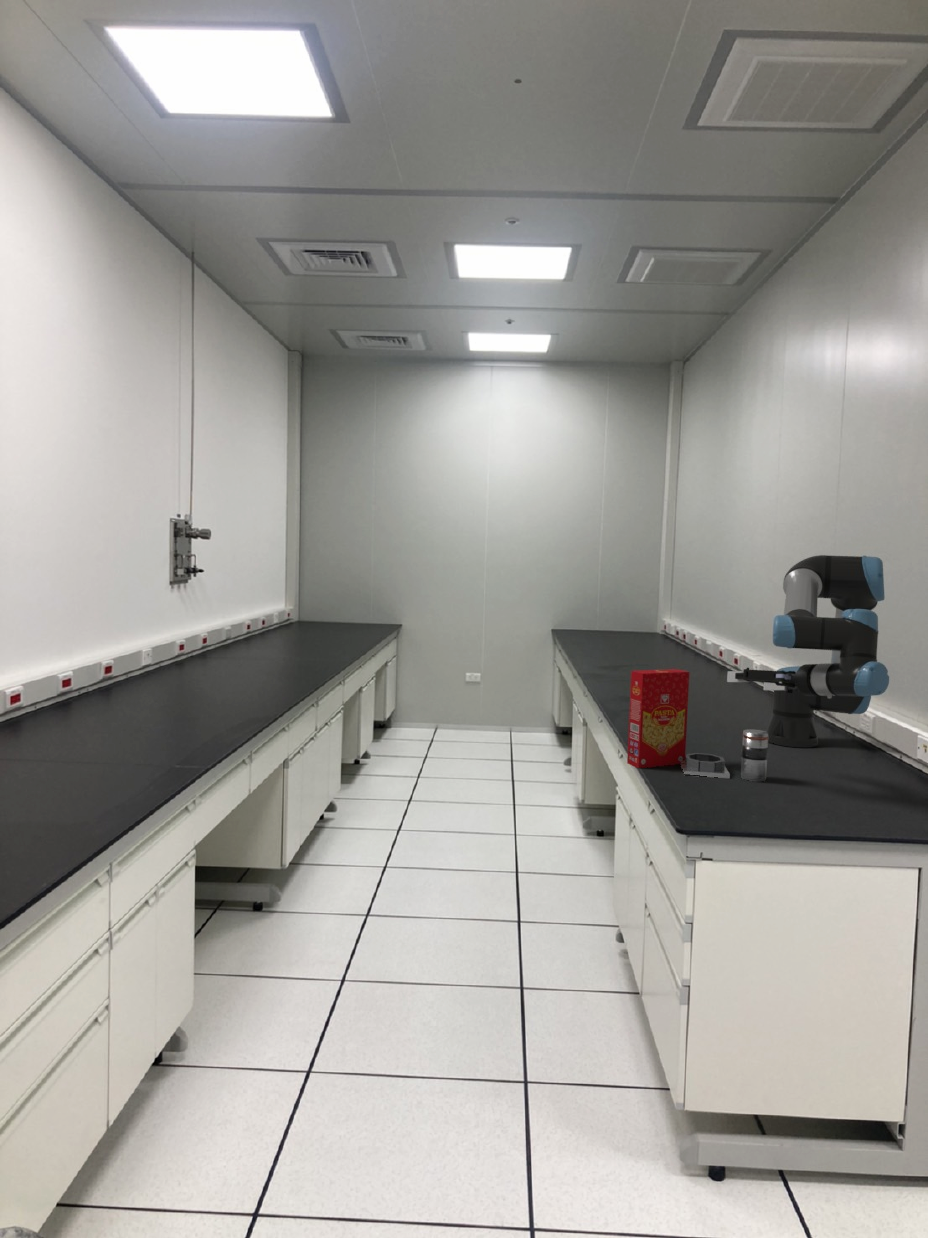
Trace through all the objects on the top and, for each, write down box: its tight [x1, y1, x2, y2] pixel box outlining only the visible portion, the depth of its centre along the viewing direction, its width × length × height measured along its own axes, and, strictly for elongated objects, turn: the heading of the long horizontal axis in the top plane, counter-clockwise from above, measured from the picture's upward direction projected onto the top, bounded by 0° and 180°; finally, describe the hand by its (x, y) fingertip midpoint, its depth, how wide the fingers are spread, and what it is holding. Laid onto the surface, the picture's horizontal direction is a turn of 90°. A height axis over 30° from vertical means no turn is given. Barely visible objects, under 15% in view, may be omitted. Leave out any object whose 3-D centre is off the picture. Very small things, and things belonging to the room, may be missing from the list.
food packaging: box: [626, 668, 690, 769], centre depth 217 cm, size 15×5×25 cm, turn 112°
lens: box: [740, 728, 769, 783], centre depth 205 cm, size 6×6×12 cm
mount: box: [679, 752, 731, 779], centre depth 211 cm, size 11×11×4 cm
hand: (746, 681), depth 209 cm, fingers open, 13 cm apart
